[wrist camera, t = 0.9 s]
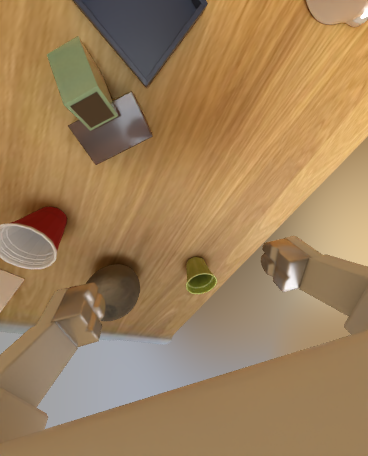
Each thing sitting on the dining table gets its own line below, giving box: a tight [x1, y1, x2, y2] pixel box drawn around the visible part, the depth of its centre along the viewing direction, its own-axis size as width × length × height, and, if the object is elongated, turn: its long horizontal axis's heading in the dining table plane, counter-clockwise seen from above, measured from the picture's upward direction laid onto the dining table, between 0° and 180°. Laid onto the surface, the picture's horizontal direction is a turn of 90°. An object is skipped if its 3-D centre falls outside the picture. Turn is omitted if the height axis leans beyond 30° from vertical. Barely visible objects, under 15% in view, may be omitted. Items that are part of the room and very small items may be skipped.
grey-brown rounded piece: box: [86, 264, 140, 321], centre depth 48 cm, size 14×14×15 cm
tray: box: [73, 0, 208, 88], centre depth 24 cm, size 13×13×3 cm
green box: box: [47, 36, 118, 131], centre depth 26 cm, size 10×5×10 cm, turn 23°
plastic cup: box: [0, 207, 67, 269], centre depth 36 cm, size 11×11×12 cm
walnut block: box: [68, 92, 152, 165], centre depth 32 cm, size 7×12×4 cm, turn 113°
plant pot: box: [186, 257, 217, 294], centre depth 55 cm, size 9×9×9 cm
